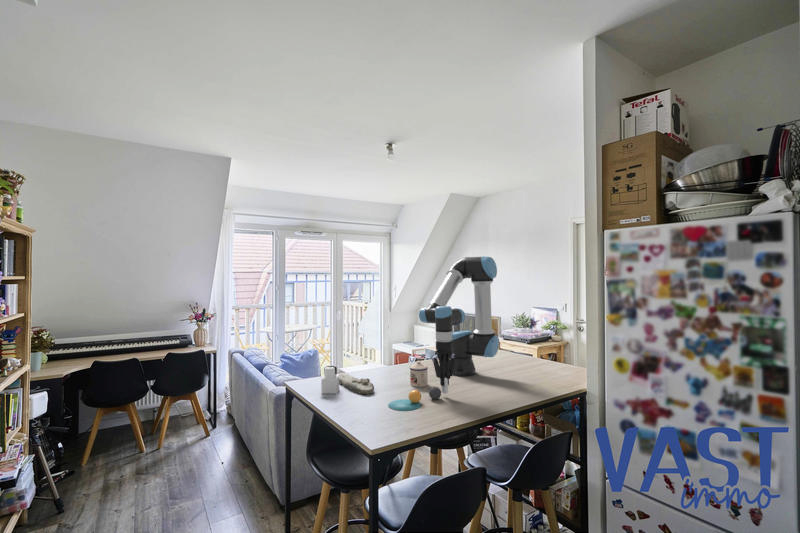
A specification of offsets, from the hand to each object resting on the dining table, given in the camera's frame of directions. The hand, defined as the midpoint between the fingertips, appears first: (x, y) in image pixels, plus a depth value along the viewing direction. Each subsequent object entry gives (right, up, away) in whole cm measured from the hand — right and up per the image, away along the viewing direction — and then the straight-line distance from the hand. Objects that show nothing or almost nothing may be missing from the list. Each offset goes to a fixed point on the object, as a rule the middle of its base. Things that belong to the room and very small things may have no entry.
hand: (444, 392), depth 175 cm
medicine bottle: (-54, -3, +10) cm, 55 cm away
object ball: (-14, +1, -8) cm, 16 cm away
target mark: (-18, -2, -10) cm, 21 cm away
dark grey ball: (-5, +1, -3) cm, 6 cm away
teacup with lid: (-10, -3, +18) cm, 21 cm away
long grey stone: (-43, -4, +19) cm, 48 cm away
